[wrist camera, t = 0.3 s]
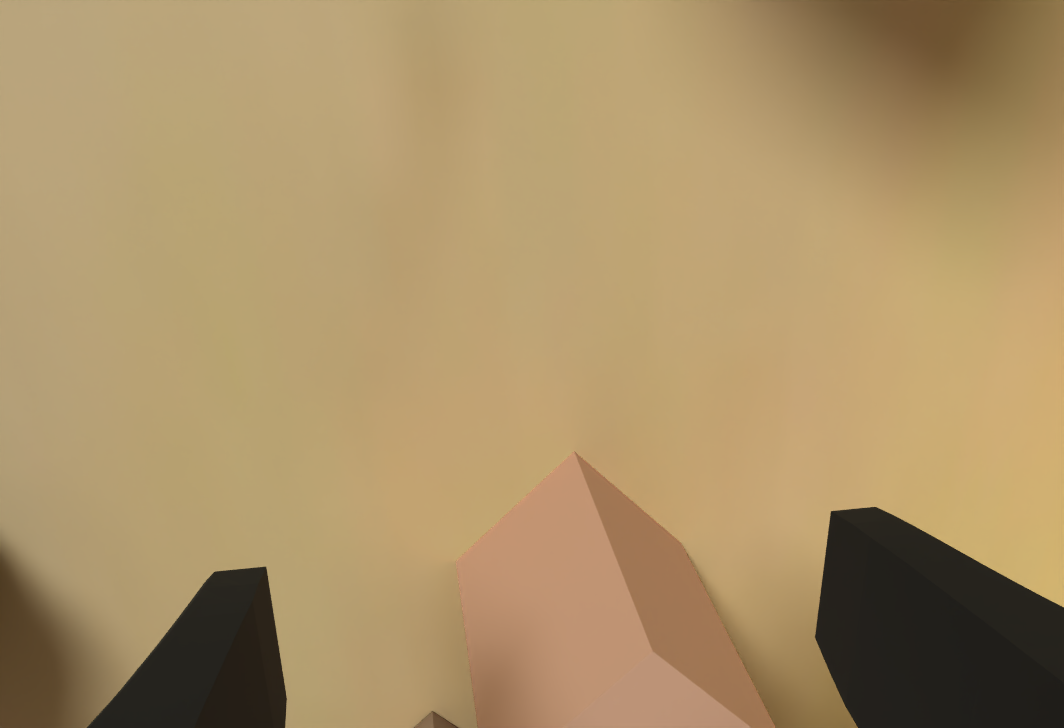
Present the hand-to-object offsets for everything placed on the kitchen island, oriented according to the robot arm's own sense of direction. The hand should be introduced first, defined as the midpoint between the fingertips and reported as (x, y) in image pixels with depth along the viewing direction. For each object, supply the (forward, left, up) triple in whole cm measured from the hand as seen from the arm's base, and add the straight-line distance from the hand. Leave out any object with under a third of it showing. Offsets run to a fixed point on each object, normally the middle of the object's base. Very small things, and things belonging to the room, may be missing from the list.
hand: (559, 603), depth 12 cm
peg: (-6, +3, -10) cm, 12 cm away
